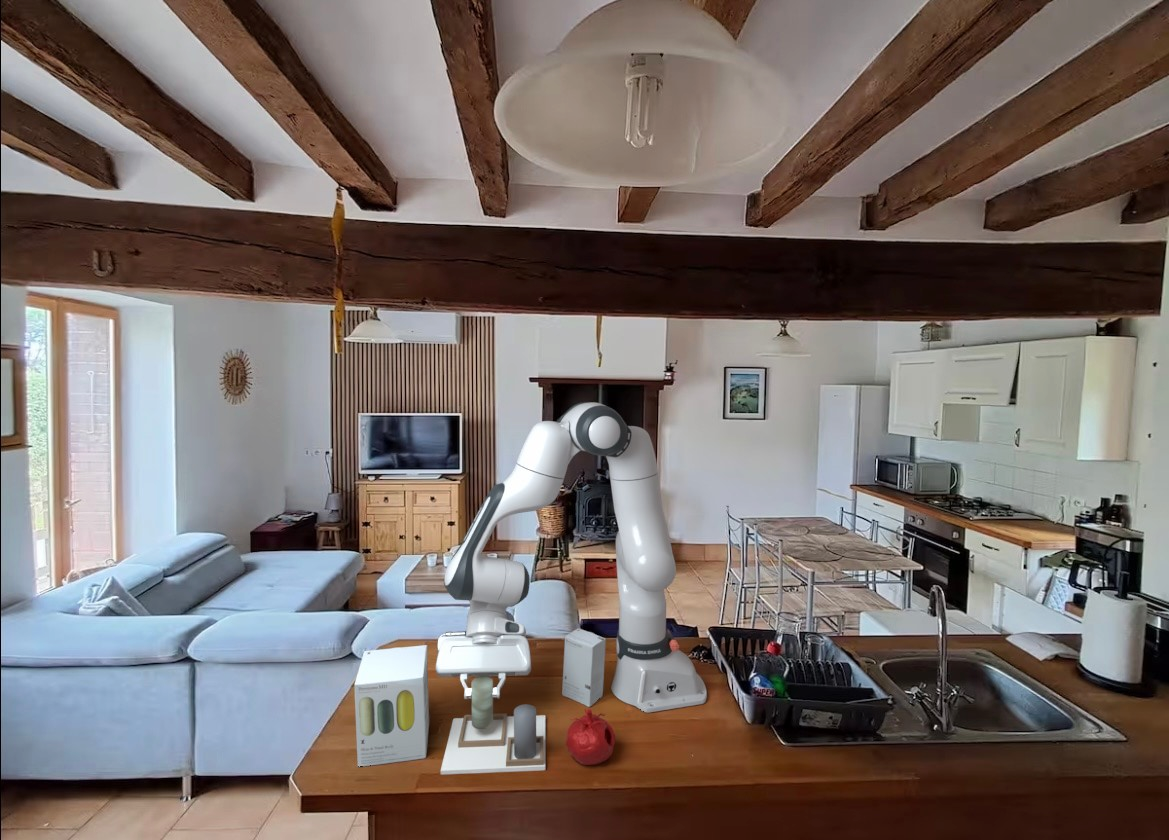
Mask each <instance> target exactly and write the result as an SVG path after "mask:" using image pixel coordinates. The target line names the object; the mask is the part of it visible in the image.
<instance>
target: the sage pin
mask: <svg viewBox="0 0 1169 840" xmlns="http://www.w3.org/2000/svg"><path fill="white" fill-rule="evenodd" d="M470 684H471V687H470V688H471V690H472V699H471V715H472V726H473V727H474V728H476V729H486V728H488V727H490V726H491V725H492V724H493V714H494V698H493V697H492V693H493V688H494V680H493V678H491V676H476V677H475V678H474V679H473V680H471V683H470Z"/></svg>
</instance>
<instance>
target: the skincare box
mask: <svg viewBox="0 0 1169 840" xmlns="http://www.w3.org/2000/svg"><path fill="white" fill-rule="evenodd" d="M606 643H607V639H606V637H604V636H603V637H602V636H600V635H597V634H595V633H594V632H592V631H587V630H584V629H582V628H576V629H574V630H573V631H571V632H569V633H568V634H566V635H564V649H563V650H564V651H563V652H564V653H563V654H564V655H563V666H562V667H563V671H562V688H561V689H562V691H561V694H562V696H563V697H565V698H567V699H570V700H572V701H575V702H578V703H579V704H582V705H584V706H586V707H588V708H590V707H591V706H593V705H594V704H596V702H598V701H599V700H600V699H601V698H602V697H603V696H604V695H603V694H604V677H605V662H606V661H605V658H606V657H605V656H606ZM599 698H600V699H599ZM598 699H599V700H598ZM597 700H598V701H597Z"/></svg>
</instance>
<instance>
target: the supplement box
mask: <svg viewBox="0 0 1169 840" xmlns="http://www.w3.org/2000/svg"><path fill="white" fill-rule="evenodd" d="M428 672H429V670H428V645H427V644H423V645H415V646H403V647H391V648H384V649H371V650H364V651H363V653H362V658H361V661H360V664H359V668H358V670H357V675H356V678H355V681H354V685H353V686H354V706H355V708H354V709H355V730H356V732H355V734H356V754H357V755H356V757H357V767H358V766H359V767H358V768H361V767H360V766H363V767H368V766H369V767H370V765H371V766H378V765H385V764H392V763H400V762H407V761H408V762H409V761H415V760H422V759H426V758H427V754H428V741H429V740H428V739H429V729H430V728H429V727H430V712H429V711H430V706H429V705H430V703H429V673H428Z"/></svg>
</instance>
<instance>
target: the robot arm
mask: <svg viewBox="0 0 1169 840" xmlns="http://www.w3.org/2000/svg"><path fill="white" fill-rule="evenodd" d="M520 449H521V450H520V453H519V454H518V457H517V460H516V464H515V466H514V468H513V470H512V472H511V473H510V474H509V476H507V478H506V479H505V480H504V481H502V482H500V483H496V484H495V485H494V486H493V487H492V488H491V489H490V491H489V492H488V494H487V496H486V497H485V498H484V500H483V502H482V504H481V505H480V507H479V509H478V511H477V512H476V514H475V517H474V519H473V521H472V522H471V525H470V527H469V529H468V530H467V532H466V535H465V536H464V538H463V539H462V541H461V543H460V545H459V547H458V548H457V550H456V551H455V553H454V555H453V556H452V557H451V559H450V561H449V562H448V563H447V566H446V569H445V573H444V578H443V585H444V587H445V589H446V591H447V592H448V593H449V595H450V596H451V597H452V598H453V600H455V601H469V610H468V614H467V615H466V629H465V630H464V631H462V630H461V631H446V632H445V633H442V634H441V635H440V636H438V639H437V645H436V648H437V652H438V653H437V657H436V661H435V662H436V663H435V667H434V668H435V673H436V675H437V676H438V677H439V678H460V679H459V681H460V683H461V685H462V687H463V690H464V694H463V699H464V700H472V690H471V687H468V685H467V682H469V678H471V677H472V678H473V677H482V676H486V677H498V681H499V682H498V684H497V686H496V687H494V686H493V693H492V697H493V699H500V698H501V689H502V688H503V686H504V684H505V683H506V680H507V677H509V676H510V677H511V676H528V675H529V674H530V672H531V671H532V658H531V650H530V645H529V640H528V639H527V637H526V636H527V629H526V627H525V625H524V624H523V623H519V622H516V621H513V620H510V619H508V616H507V609H508V608H512V607H514V606H516V605H518V604H519V603H521V602H523V601H524V600H525V599H526V598H527V597H528V595H529V590H530V581H531V579H530V578H531V577H530V574H529V571H528V568H527V567H526V566H525V565H524V563H521V562H519V561H515V560H511V559H506V558H499V557H495V556H494V557H493V556H488V555H484V554H482V552H483V550H484V549H485V547H486V544H487V543H488V541H489V538H490V537H491V535H492V534H493V531H494V530H495V528H496V526H497V524H498V523H499V522H500V521H502V520H504V519H505V518H507V517H509V516H512V515H516V514H521V513H528V512H531V513H532V512H534V511H540V510H541V509H544V508H546V507H547V506H549V505H550V504H552V503H553V502H554V501H555V500H556V498H557V497H558V495H559V494H560V491H561V488H562V487H563V483H564V480H565V476H566V474H567V473H566V472H567V470H568V465H569V464H570V462H571V461H572V459H573V458H574V456H576V454H578V453H579V452H581V451H582V452H587V453H589V454H591V455H594V456H600V457H605V458H606V460H607V463H608V470H609V480H610V486H611V496H612V503H613V511H614V514H615V519H616V522H617V527H618V531H617V533H616V536H615V556H616V557H615V559H616V562H615V563H616V574H617V575H616V576H617V587H618V598H619V599H618V600H619V603H618V604H619V607H618V608H619V609H618V610H619V612H618V613H619V615H618V630H617V631H616V632H617V634H616V635H617V636H616V648H615V649H616V654H617V659H616V667H615V672H614V675H613V680H612V683H611V688H610V689H611V691H612V693H613V695H614V696H615V697H616V698H617V699H619V700H620V701H622V702H623V703H625V704H628V705H631V706H634V707H636V708H638V709H639V710H640V709H641V710H640V711H642V712H643V711H644V712H643V713H648V714H649V713H653V712H654V713H655V712H661V711H667V710H672V709H673V710H674V709H679V708H684V707H685V708H686V707H692V706H697V705H703V704H705V703H706V701H707V698H708V694H707V693H708V692H707V688H706V684H705V682H704V680H703V679H702V677H701V676H700V675H699V674H698V673H697V672H696V667H695V666H694V664H693V662H692V660H691V659H690V658H689V656H688V655H687V654H686V653H684V652H683V651H681V650H680V644H679V643H678V641H677V640H676V639H675V638H674V635H673V634H672V633H671V631H670V630H669V629H668V628H667V598H666V594H665V590H666V589H667V588H668V587H670V585H671V584H672V583H673V582H674V580H675V578H676V574H677V566H676V561H675V557H674V554H673V549H672V544H671V542H672V541H671V539H670V538H671V537H670V533H669V529H668V524H667V520H666V515H665V513H664V509H663V503H662V495H661V486H660V478H659V477H660V476H659V470H658V464H657V463H658V462H657V458H656V453H655V449H654V445H653V442H652V439H651V436H650V434H649V432H648V431H647V430H646V429H644V428H642V427H639V426H635V425H627V423H626V422H625V421H624V419H623V417H622V416H621V415H620V414H619V413H618V412H617V411H616V410H615V409H613V408H612V407H610V406H607V405H605V404H602V403H600V402H595V401H594V402H590V401H583V402H581V401H580V402H578V403H576V404H574V405H572V406H571V407H569V409H567V410H566V411H565V412H564V413H563V414H562V415H561V416H560V417H559V418H558V419H557V420H556V421H553V420H543V421H539V422H537V423H536V424H534V425H533V426H532V428H531V430H530V431H529V433H528V435H527V437H526V439H525V441H524V442H523V445H522V447H521V448H520Z"/></svg>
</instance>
